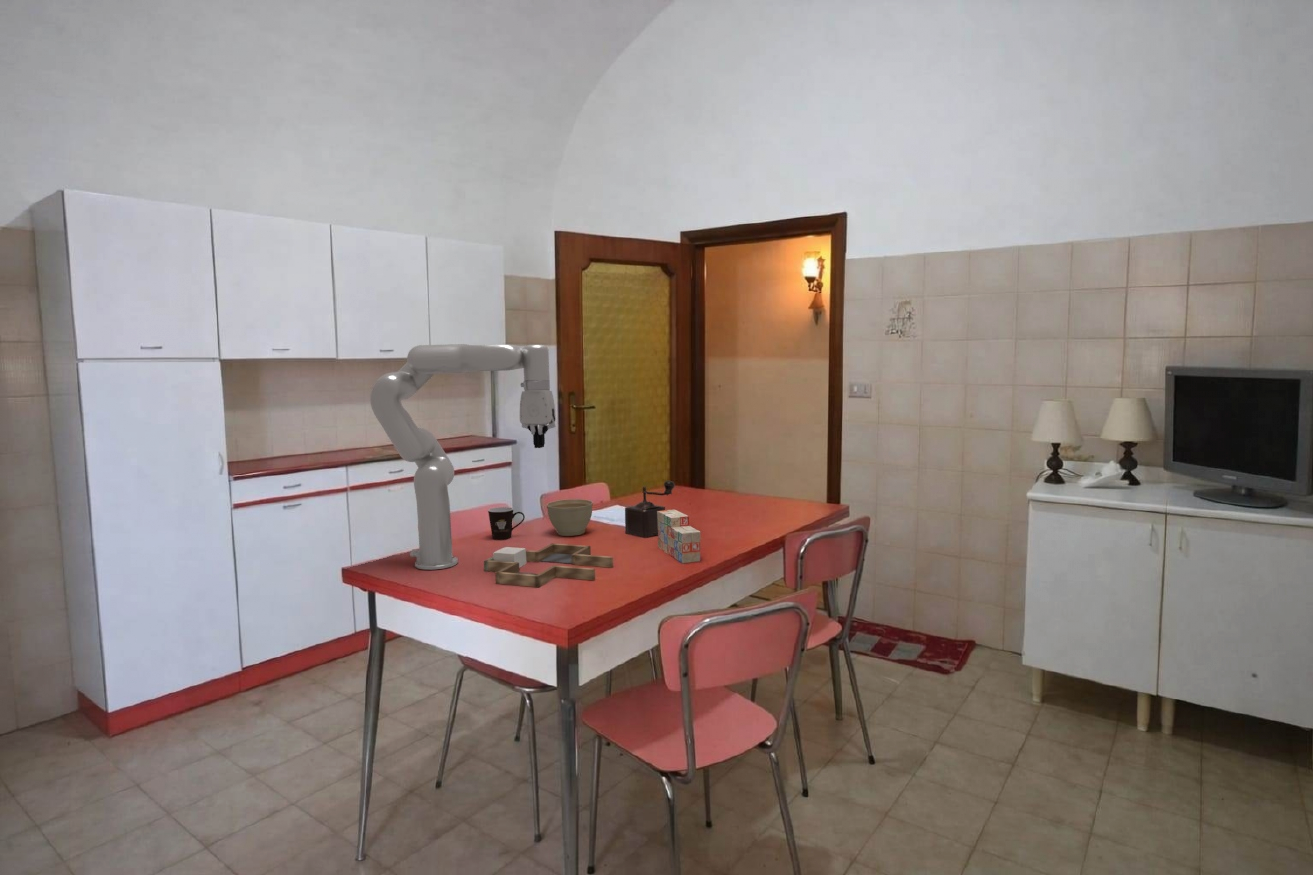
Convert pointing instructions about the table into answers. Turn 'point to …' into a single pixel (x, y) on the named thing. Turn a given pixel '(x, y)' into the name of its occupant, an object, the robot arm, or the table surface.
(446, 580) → the table surface
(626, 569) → the table surface
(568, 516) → the planter bowl
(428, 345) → the robot arm
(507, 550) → the cream block
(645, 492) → the manual coffee grinder
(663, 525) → the stack of blocks
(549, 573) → the low wooden maze walls
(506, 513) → the coffee mug
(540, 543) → the table surface
